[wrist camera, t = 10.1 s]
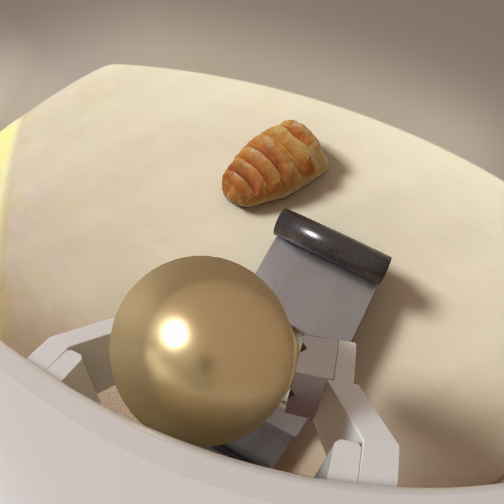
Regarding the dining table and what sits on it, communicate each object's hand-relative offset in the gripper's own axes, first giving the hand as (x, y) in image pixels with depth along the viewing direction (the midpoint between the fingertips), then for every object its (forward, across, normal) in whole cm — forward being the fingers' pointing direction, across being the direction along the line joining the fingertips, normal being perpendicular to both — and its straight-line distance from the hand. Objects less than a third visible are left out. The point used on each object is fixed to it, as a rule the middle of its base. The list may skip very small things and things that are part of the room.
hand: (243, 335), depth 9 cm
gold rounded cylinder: (+4, 0, +5) cm, 6 cm away
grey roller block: (+10, 0, +11) cm, 15 cm away
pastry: (+22, +4, 0) cm, 22 cm away
